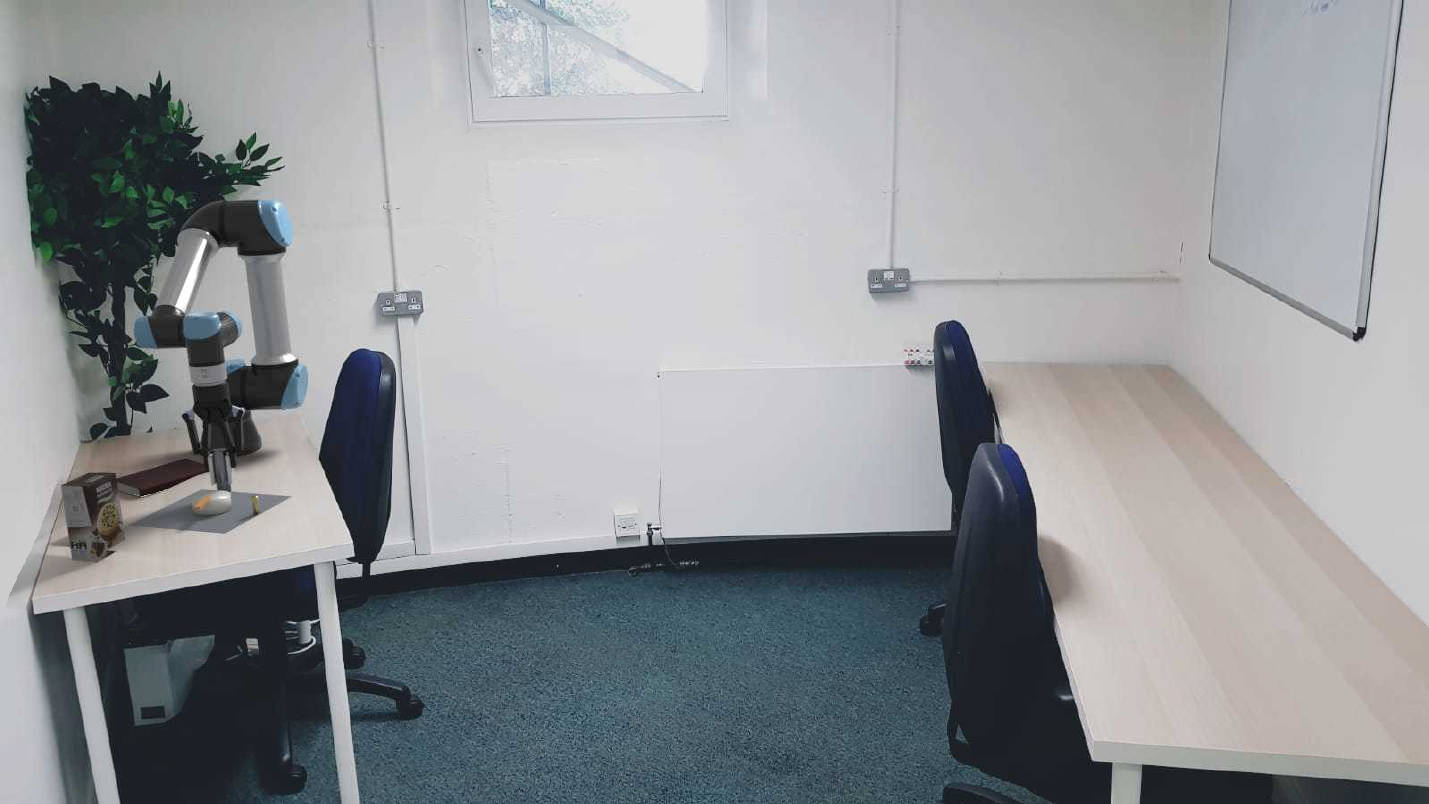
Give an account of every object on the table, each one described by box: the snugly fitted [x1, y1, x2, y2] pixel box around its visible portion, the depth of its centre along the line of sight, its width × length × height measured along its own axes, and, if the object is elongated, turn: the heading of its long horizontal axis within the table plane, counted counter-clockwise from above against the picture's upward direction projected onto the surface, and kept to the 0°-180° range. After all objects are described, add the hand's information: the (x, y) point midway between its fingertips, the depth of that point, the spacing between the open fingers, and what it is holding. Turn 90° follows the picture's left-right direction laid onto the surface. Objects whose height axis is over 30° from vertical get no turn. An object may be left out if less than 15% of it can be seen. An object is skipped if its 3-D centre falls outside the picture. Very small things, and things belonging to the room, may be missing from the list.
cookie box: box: [60, 471, 126, 563], centre depth 245 cm, size 9×6×16 cm
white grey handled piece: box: [191, 448, 233, 516], centre depth 266 cm, size 20×8×11 cm, turn 5°
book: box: [116, 458, 210, 498], centre depth 291 cm, size 13×19×3 cm, turn 145°
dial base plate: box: [128, 488, 292, 534], centre depth 267 cm, size 24×24×6 cm
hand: (223, 482), depth 275 cm, fingers closed on white grey handled piece, 3 cm apart
